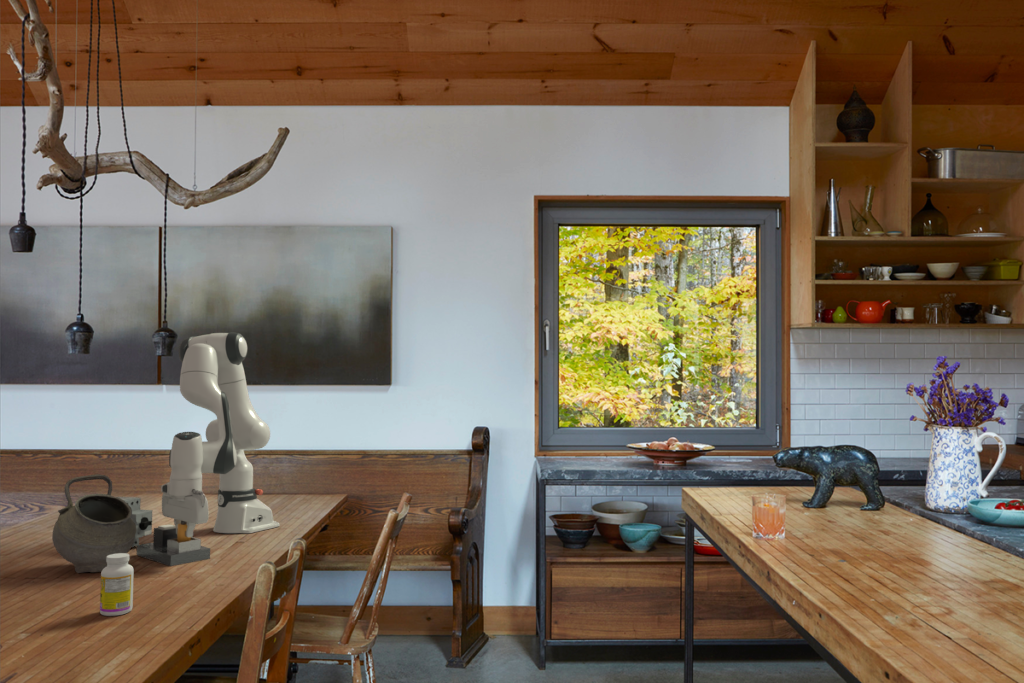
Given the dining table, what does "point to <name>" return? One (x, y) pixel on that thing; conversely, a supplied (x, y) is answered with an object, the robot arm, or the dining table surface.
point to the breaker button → (166, 527)
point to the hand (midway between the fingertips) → (184, 535)
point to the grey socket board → (172, 549)
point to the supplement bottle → (116, 586)
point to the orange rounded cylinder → (182, 532)
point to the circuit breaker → (139, 518)
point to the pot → (93, 528)
